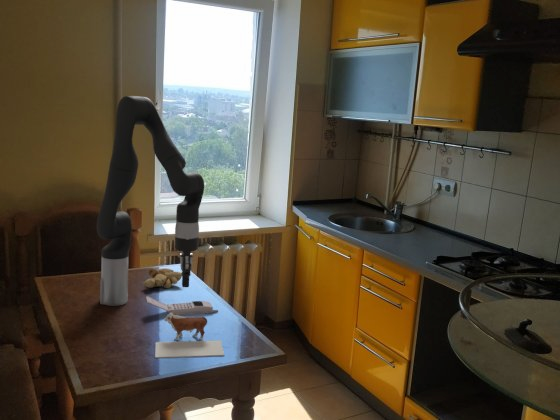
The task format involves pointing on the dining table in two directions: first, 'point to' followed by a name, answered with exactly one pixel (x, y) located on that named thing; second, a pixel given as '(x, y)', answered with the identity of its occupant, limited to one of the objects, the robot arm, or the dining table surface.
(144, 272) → the dining table surface
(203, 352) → the mat
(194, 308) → the mobile phone
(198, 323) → the bull figurine
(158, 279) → the ginger root
